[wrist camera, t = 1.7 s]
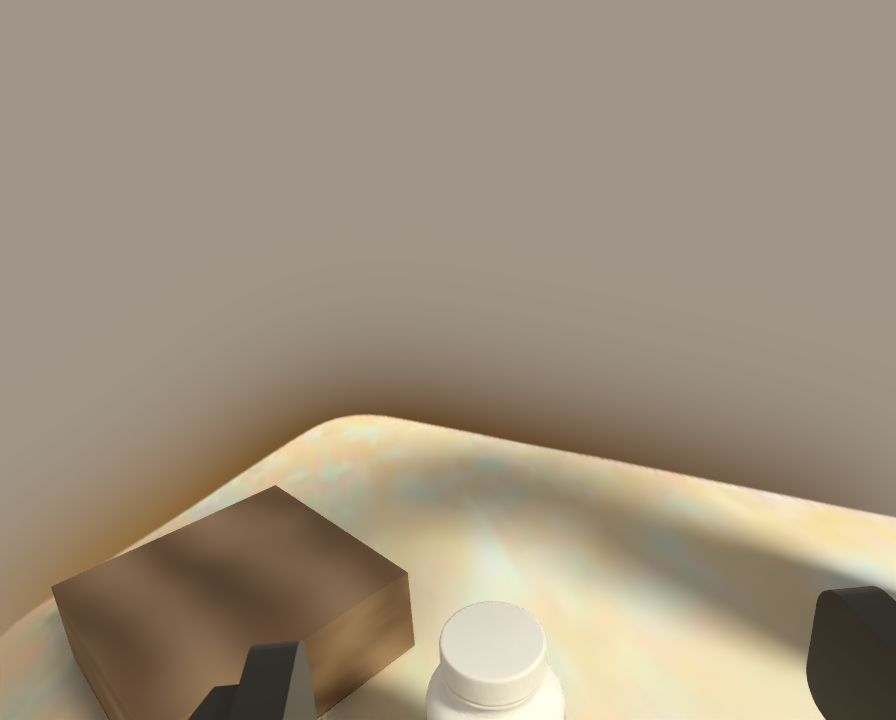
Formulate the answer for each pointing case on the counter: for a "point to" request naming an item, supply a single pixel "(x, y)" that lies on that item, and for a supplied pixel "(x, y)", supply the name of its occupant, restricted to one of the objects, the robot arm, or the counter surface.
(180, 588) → the walnut block
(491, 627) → the supplement bottle
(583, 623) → the counter surface
